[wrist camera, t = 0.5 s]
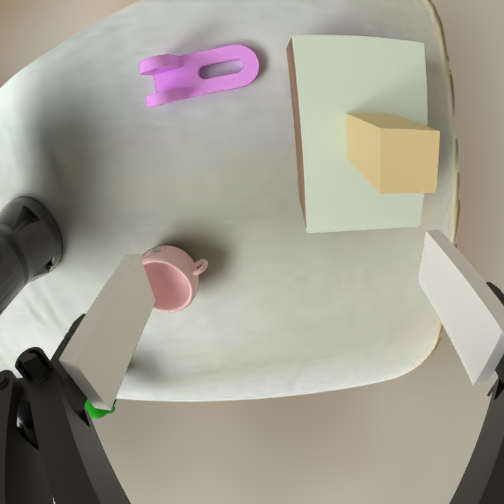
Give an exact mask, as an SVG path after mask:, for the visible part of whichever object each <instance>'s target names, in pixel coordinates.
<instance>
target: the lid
mask: <svg viewBox="0 0 504 504" xmlns="http://www.w3.org/2000/svg"><path fill="white" fill-rule="evenodd" d="M292 43H293V52H294V61H295V70H296V80H297V90H298V101H299V112H300V124H301V137H302V151H303V167H304V184H305V204H306V229H307V233H320V232H336V231H352V230H368V229H385V228H403V227H420V224H421V216H422V208H423V198H424V193H436V186H437V175H438V162H439V142H440V131H438V130H436V129H433V128H430V127H428V109H427V78H426V63H425V51H424V43H421V42H414V41H407V40H400V39H391V38H381V37H369V36H352V35H292Z"/></svg>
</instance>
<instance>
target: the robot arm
mask: <svg viewBox="0 0 504 504" xmlns="http://www.w3.org/2000/svg"><path fill="white" fill-rule="evenodd" d="M61 256H62V239H61V235H60V232H59V229H58V226H57V224H56V222H55V221H54V219H53V217H52V216H51V214H50V213H49V212H48V211H47V209H46V208H45V207H44V206H42V205H41V204H40V203H39V202H37V201H36V200H34V199H31V198H28V197H19V198H16V199H14V200H13V201H11V202H10V203H8V204H7V205H6V206H5V207H4V208H3V209H2V211H1V213H0V315H1V314H2V313H3V311H4V310H5V309H6V308H7V306H8V305H9V304H10V303H11V302H12V300H13V299H14V298H15V297H16V296H17V294H18V293H19V292H20V291H21V290H22V289H23V288H24V286H25V285H26V284H27V283H29V282H31V281H33V280H35V279H38V278H40V277H42V276H44V275H46V274H48V273H50V272H51V271H52V270H53V269H54V268H55V267H56V265H57V264H58V263H59V261H60V259H61ZM418 283H419V284H420V286H421V288H422V289H423V291H424V293H425V294H426V296H427V298H428V299H429V301H430V303H431V305H432V306H433V308H434V310H435V312H436V313H437V315H438V317H439V319H440V321H441V322H442V324H443V326H444V328H445V330H446V332H447V333H448V335H449V337H450V339H451V341H452V343H453V345H454V347H455V349H456V351H457V353H458V355H459V357H460V359H461V361H462V363H463V365H464V367H465V369H466V371H467V373H468V376H469V378H470V380H471V382H472V384H473V386H475V385H478V384H481V383H484V382H487V381H489V379H490V378H491V376H492V375H493V373H494V371H496V372H497V375H498V379H497V380H496V382H495V383H494V385H493V386H492V388H491V389H490V391H489V393H488V396H490V394H491V393H492V392H493V393H492V397H491V401H490V404H489V408H488V411H487V414H486V417H485V420H484V423H483V426H482V429H481V432H480V435H479V438H478V441H477V443H476V446H475V449H474V451H473V454H472V456H471V459H470V461H469V464H468V466H467V468H466V471H465V473H464V475H463V477H462V479H461V481H460V484H459V486H458V488H457V490H456V492H455V494H454V496H453V498H452V500H451V502H450V504H504V294H503V293H502V292H501V290H500V289H499V288H497V287H496V286H495V285H493V284H492V283H490V282H485V281H484V280H483V279H482V278H481V276H480V275H479V274H478V273H477V271H476V270H475V269H474V268H473V267H472V265H471V264H470V263H469V262H468V261H467V260H466V258H465V257H464V256H463V255H462V254H461V253H460V252H459V251H458V249H457V248H456V247H455V246H454V245H453V244H452V243H451V242H450V241H449V239H448V238H447V237H446V236H445V235H444V234H443V233H442V232H441V231H440V230H432V231H426V234H425V241H424V247H423V253H422V259H421V265H420V270H419V276H418ZM155 302H156V300H155V297H154V295H153V292H152V289H151V286H150V283H149V281H148V278H147V275H146V272H145V269H144V266H143V263H142V260H141V257H140V254H136V255H126V256H125V257H124V259H123V260H122V261H121V263H120V264H119V266H118V267H117V268H116V270H115V271H114V273H113V274H112V276H111V277H110V279H109V280H108V282H107V283H106V285H105V286H104V287H103V289H102V290H101V292H100V293H99V295H98V297H97V298H96V300H95V301H94V303H93V304H92V306H91V307H90V309H89V310H88V312H87V314H82V315H81V316H80V317H79V318H78V319H77V320H75V321H74V323H73V324H72V326H71V327H70V329H69V332H67V334H66V335H65V337H64V339H63V340H62V342H61V343H60V345H59V347H58V348H57V350H56V352H55V353H54V355H53V357H52V359H51V360H49V359H48V357H47V356H46V354H45V353H44V351H43V350H42V349H41V348H39V347H32V348H29V349H27V350H25V351H24V352H23V353H22V354H21V355H20V356H19V357H18V359H17V361H16V364H15V367H16V369H17V370H18V371H19V373H20V374H21V375H22V377H23V378H17V377H16V376H15V375H14V374H13V372H12V371H10V370H4V371H1V372H0V504H54V503H53V498H54V501H55V503H56V504H131V503H130V501H129V499H128V498H127V496H126V494H125V492H124V490H123V488H122V487H121V484H120V483H119V481H118V479H117V477H116V475H115V473H114V471H113V469H112V466H111V464H110V463H109V460H108V458H107V456H106V453H105V451H104V449H103V447H102V444H101V442H100V440H99V437H98V435H97V432H96V430H95V427H94V425H93V422H92V420H91V417H90V415H89V412H88V410H87V409H86V407H85V403H86V401H87V399H88V400H89V402H90V403H91V404H92V405H93V407H94V408H98V409H104V410H110V411H111V409H112V406H113V403H114V401H115V398H116V396H117V393H118V390H119V388H120V385H121V383H122V380H123V378H124V375H125V373H126V370H127V368H128V365H129V363H130V360H131V358H132V355H133V353H134V351H135V348H136V346H137V343H138V341H139V339H140V336H141V334H142V332H143V329H144V327H145V325H146V322H147V320H148V318H149V315H150V313H151V311H152V309H153V306H154V304H155ZM17 420H18V421H19V422H20V426H19V427H17Z"/></svg>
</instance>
